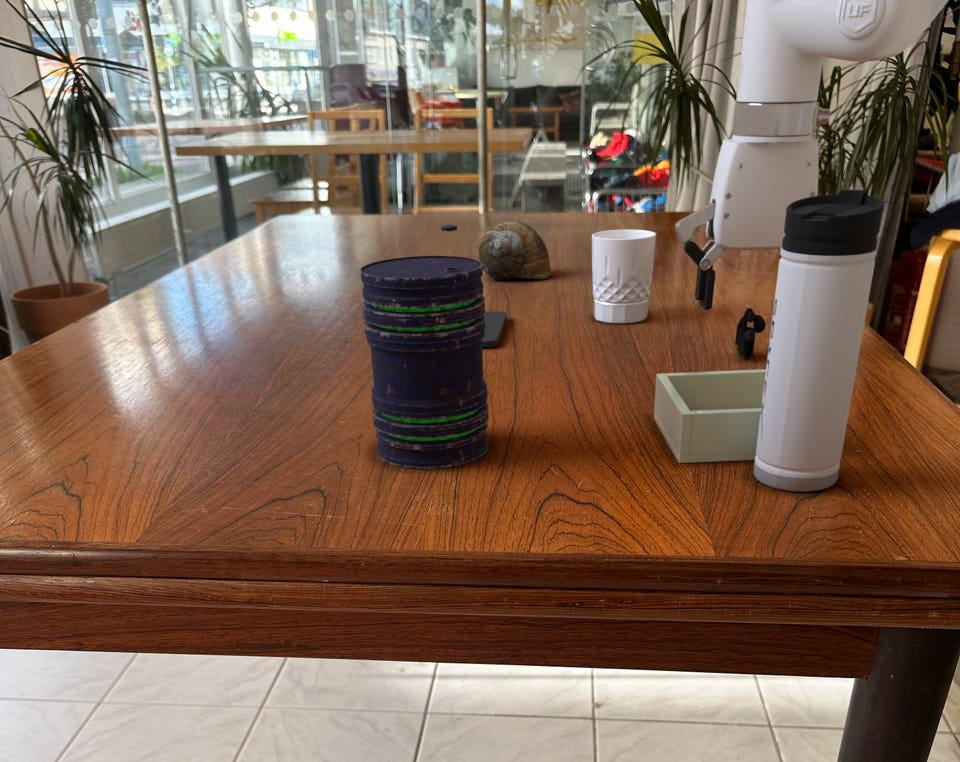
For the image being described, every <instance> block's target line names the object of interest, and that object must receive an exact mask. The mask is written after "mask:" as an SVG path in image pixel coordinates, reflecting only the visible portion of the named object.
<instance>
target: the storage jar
mask: <svg viewBox="0 0 960 762" xmlns="http://www.w3.org/2000/svg"><path fill="white" fill-rule="evenodd" d="M457 230H458V225H457V224H446V225H445V224H444V225H441V226H440V231H441V232H457ZM359 271H360V281H361V283H362V284H363V286H362V288H361V291H362V292H361V293H362V301H363V302H362V304H361V305H362V307H361V308H362V315H363V316H362V317H363V321H365V322H364V326H365V330H364V335H365V336H366V342H367V343H368V345H369V346H370V356H371V357H370V358H371V366H372V377H373V378H372V379H373V386H372V388H371V390H370V391H371V397H370V399H371V400H370V401H371V403H372V410H371V411H372V421H373V422H372V423H373V426H374V429H375V436H376V438H377V440H378V441H377V445H376V450H377V455H378V457H379V458H380V459H381V460H382V461H383V462H386V463H387V464H390V465H392V466H395V467H400V468H405V469H417V470H429V469H430V470H433V469H434V470H435V469H445V468H452V467H457V466H462V465H466V464H469V463H471V462H473V461H476V460H478V459H480V458H482V457H483V456H484V455H486V453H487V452H488V450H489V439H488V437H487V432H488V429H489V428H488V421H489V416H490V415H489V403H488V396H489V392H488V385H487V383H486V381H485V380H484V357H483V347H482V339H483V338H484V336H485V328H486V325H485V318H484V314H485V311H486V298H485V296H484V283H483V281H482V277H483V274H484V270H483V265H482V262H480V261H479V259H476V258H471V257H466V256H456V255H416V256H415V255H413V256H403V257H394V258H388V259H383V260H377V261H373V262H370V263H367V264H365V265H363V266H361V267H360V269H359Z"/></svg>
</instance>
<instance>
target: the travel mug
mask: <svg viewBox="0 0 960 762" xmlns="http://www.w3.org/2000/svg"><path fill="white" fill-rule="evenodd" d="M869 192H870V191H869V190H868V189H867V190H866V189H848V188H847V189H846V188H843V189H840V190H839V192H838V193H830V194H820V195H817V196H813V197H808V198H804V199H800V200H797V201H795V202H792V203H791V204H789V205H788V207H787V210H786V218H785V226H784V233H785V237H784V238H783V242H782V247H781V249H780V250H779V253H780V256H781V258H779V260H778V268H777V277H776V285H775V294H774V301H773V309H772V317H771V325H770V332H769V333H770V334H769V342H768V350H767V358H766V367H765V369H766V374H765V382H764V390H763V398H762V406H761V414H760V422H759V431H758V439H757V447H756V456H755V460H754V465H753V476H754V477H755V479H756V480H757V481H758V482H759V483H761V484H763V485H764V486H767V487H769V488H773V489H776V490H781V491H784V492H785V491H786V492H793V493H809V492H810V493H811V492H817V491H822V490H825V489H828V488H830V487H831V486H833V485H834V484H835V483H836V482H837V481H838V479H839V472H840V467H841V459H842V455H843V449H844V445H845V444H844V443H845V437H846V431H847V426H848V422H849V421H848V420H849V414H850V410H851V402H852V397H853V391H854V385H855V381H856V374H857V369H858V368H857V367H858V364H859V357H860V351H861V345H862V339H863V334H864V328H865V323H866V317H867V311H868V304H869V299H870V293H871V287H872V281H873V277H874V270H875V264H876V260H875V258H876V256H877V253H878V252H877V251H878V242H879V239H878V235H879V233H880V231H881V230H880V229H881V224H882V218H883V212H884V207H885V202H884V200H883V199H881V197H878V196H873V195H869Z"/></svg>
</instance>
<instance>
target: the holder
mask: <svg viewBox="0 0 960 762" xmlns="http://www.w3.org/2000/svg"><path fill="white" fill-rule="evenodd" d="M765 374H766V368H765V369H764V368H763V369H739V370H738V369H737V370H715V371H713V370H712V371H695V372H694V371H693V372H692V371H691V372H690V371H689V372H688V371H687V372H668V373H656V375H655V390H654V391H655V392H654V407H653V419H654V421H655V423H656V425H657V426H658V428H659V430H660V432H661V434H662V435H663V437H664V439H665V441H666V443H667V444H668V446H669V448H670V450H671V452H672V453H673V455H674V457H675V459H676V460H677V463H678V464H689V463H692V464H693V463H714V462H715V463H716V462H732V461H733V462H737V461H738V462H739V461H755V456H756V447H757V439H758V431H759V422H760V414H761V406H762V398H763V390H764V382H765Z"/></svg>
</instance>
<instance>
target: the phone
mask: <svg viewBox="0 0 960 762" xmlns="http://www.w3.org/2000/svg"><path fill="white" fill-rule="evenodd" d="M484 318H485V325H486V328H485V336H484V338H483V339H482V348H492V347H493V348H494V347H496V346H498V345H499V343H500V340H501V337H502V333H503V332H504V329H505V326H506V323H507V319H508V313H507V312H506V311H500V310H499V311H498V310H497V311H496V310H494V311H493V310H490V311H488V310H487V311H486V310H485V314H484Z"/></svg>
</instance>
